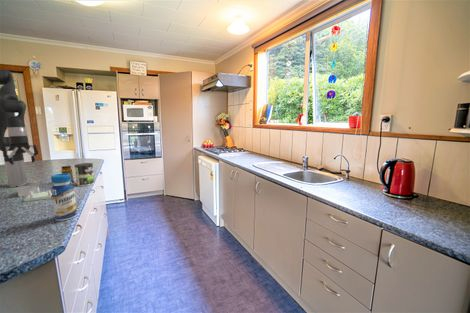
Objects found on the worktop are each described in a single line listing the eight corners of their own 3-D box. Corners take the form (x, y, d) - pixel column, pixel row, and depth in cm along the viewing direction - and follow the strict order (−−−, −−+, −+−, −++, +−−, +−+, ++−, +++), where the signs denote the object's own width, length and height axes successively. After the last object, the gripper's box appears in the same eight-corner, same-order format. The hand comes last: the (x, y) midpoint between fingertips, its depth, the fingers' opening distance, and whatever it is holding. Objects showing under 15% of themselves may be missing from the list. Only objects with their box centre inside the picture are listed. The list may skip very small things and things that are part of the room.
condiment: (60, 183, 152) (58, 166, 150) (73, 180, 159) (71, 164, 157) (65, 184, 149) (63, 167, 147) (79, 181, 156) (77, 165, 154)
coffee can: (98, 182, 153) (96, 163, 151) (85, 186, 143) (83, 166, 141) (86, 181, 155) (84, 162, 153) (73, 185, 145) (70, 165, 143)
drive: (29, 191, 135) (27, 181, 134) (39, 190, 136) (37, 180, 135) (18, 197, 124) (16, 187, 123) (29, 196, 125) (28, 186, 124)
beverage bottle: (74, 211, 104) (69, 171, 100) (80, 216, 98) (75, 174, 95) (52, 217, 97) (46, 175, 94) (57, 223, 92) (50, 178, 89)
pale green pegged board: (23, 201, 117) (22, 193, 116) (33, 195, 127) (32, 187, 126) (55, 198, 122) (54, 190, 121) (62, 192, 132) (61, 185, 131)
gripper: (36, 134, 129) (40, 161, 131) (2, 136, 120) (7, 164, 122) (34, 134, 123) (38, 162, 125) (-2, 136, 114) (3, 165, 116)
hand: (23, 163), depth 124 cm, fingers open, 8 cm apart
